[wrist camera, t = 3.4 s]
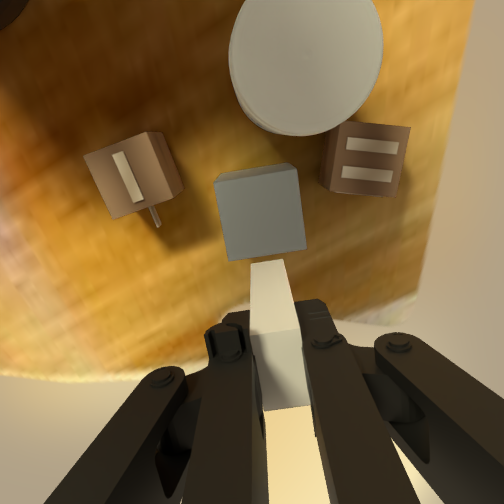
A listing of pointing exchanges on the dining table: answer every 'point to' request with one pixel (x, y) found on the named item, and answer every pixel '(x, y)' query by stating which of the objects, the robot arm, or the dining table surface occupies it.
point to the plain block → (260, 211)
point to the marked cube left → (135, 174)
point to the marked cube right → (363, 158)
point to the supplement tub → (304, 62)
